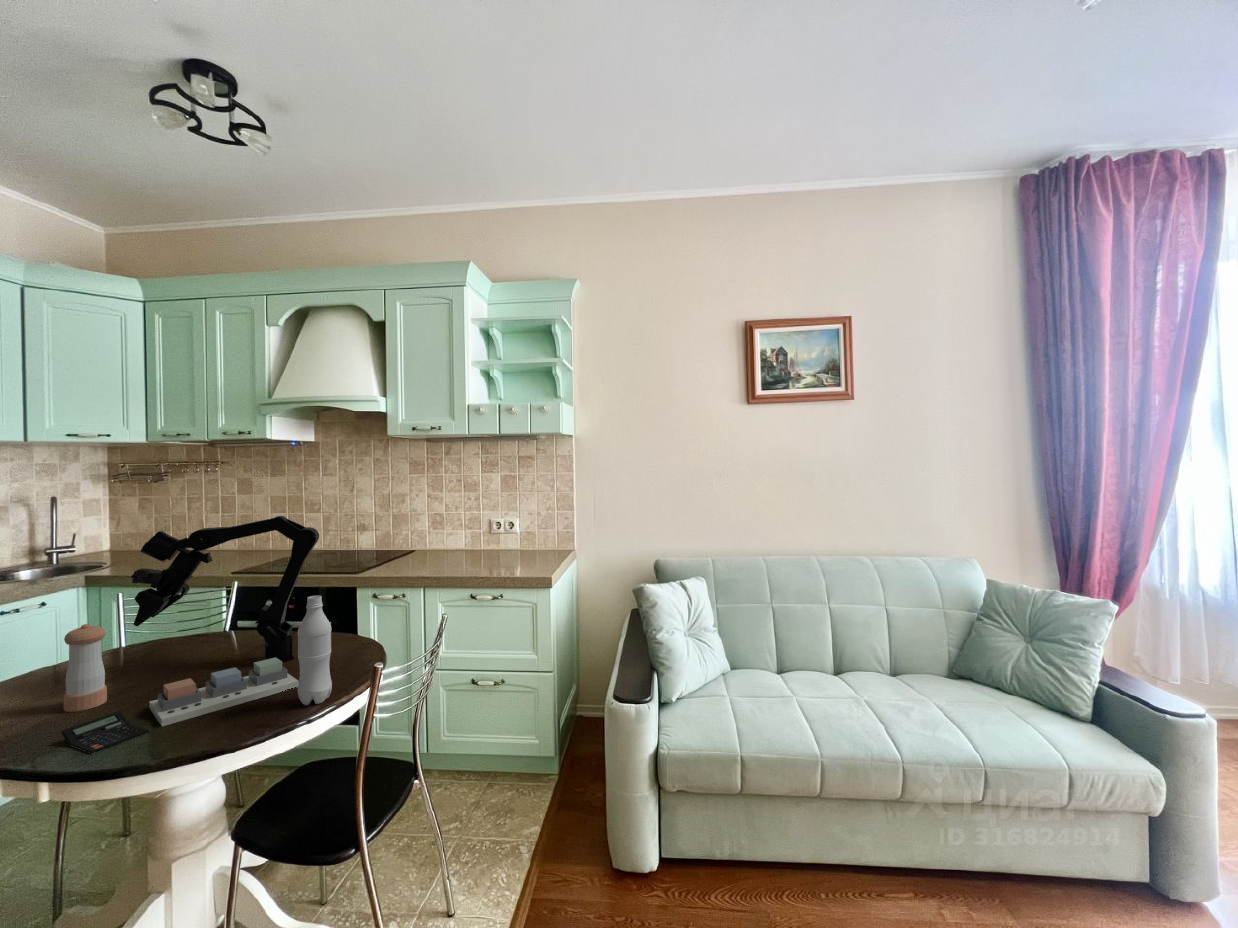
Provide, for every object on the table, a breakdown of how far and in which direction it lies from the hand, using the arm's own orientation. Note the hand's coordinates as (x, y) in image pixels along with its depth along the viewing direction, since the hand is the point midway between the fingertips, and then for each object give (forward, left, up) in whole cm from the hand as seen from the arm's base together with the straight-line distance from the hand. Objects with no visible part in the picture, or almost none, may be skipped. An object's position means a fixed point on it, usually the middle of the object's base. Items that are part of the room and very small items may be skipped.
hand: (143, 620), depth 144 cm
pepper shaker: (+12, +12, -15) cm, 23 cm away
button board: (-11, +33, -15) cm, 38 cm away
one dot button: (-20, +32, -12) cm, 40 cm away
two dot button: (-11, +32, -12) cm, 36 cm away
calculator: (+11, +37, -16) cm, 42 cm away
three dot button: (-2, +32, -12) cm, 34 cm away
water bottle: (-24, +52, -15) cm, 60 cm away
